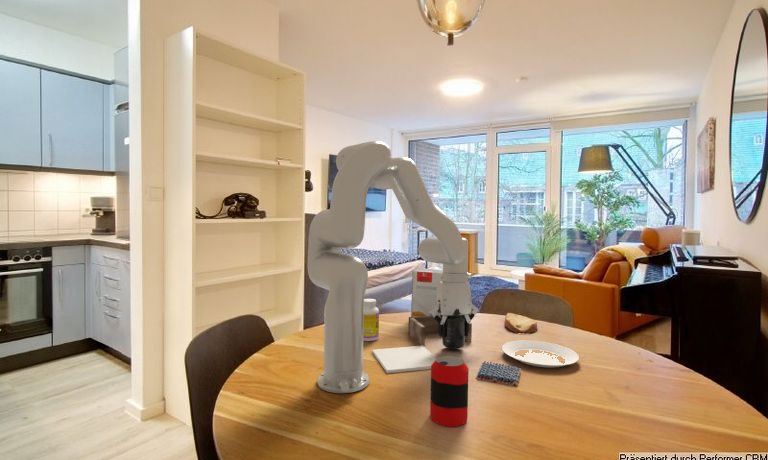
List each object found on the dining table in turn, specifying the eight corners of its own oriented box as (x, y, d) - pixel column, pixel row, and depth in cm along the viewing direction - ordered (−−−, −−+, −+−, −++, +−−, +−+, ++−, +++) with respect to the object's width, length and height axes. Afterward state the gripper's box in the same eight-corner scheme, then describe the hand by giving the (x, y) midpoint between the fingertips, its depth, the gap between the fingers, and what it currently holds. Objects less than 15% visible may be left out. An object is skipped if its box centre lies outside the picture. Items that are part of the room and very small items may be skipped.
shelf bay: (471, 341, 133) (471, 323, 132) (421, 345, 128) (421, 327, 128) (455, 330, 144) (455, 314, 144) (408, 334, 140) (408, 317, 139)
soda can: (422, 417, 84) (423, 360, 83) (444, 405, 89) (446, 351, 89) (452, 432, 78) (454, 371, 78) (474, 418, 84) (476, 361, 83)
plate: (503, 368, 111) (503, 360, 111) (500, 344, 131) (500, 337, 131) (586, 377, 106) (587, 368, 106) (570, 350, 126) (570, 343, 126)
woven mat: (521, 373, 109) (522, 365, 109) (518, 388, 99) (518, 380, 99) (482, 366, 113) (482, 359, 113) (474, 381, 103) (475, 373, 103)
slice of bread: (512, 317, 165) (512, 308, 165) (553, 328, 151) (553, 318, 150) (482, 324, 155) (482, 314, 155) (523, 336, 140) (523, 325, 140)
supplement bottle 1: (378, 342, 131) (378, 302, 131) (357, 341, 131) (358, 302, 131) (379, 335, 138) (379, 298, 137) (359, 335, 138) (359, 297, 137)
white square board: (443, 367, 111) (443, 364, 111) (387, 373, 106) (387, 370, 106) (422, 348, 126) (422, 345, 126) (372, 352, 122) (372, 349, 122)
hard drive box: (410, 323, 153) (411, 270, 152) (414, 318, 161) (415, 268, 160) (451, 327, 149) (452, 273, 148) (454, 321, 156) (455, 270, 155)
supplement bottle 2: (449, 340, 130) (450, 303, 129) (468, 345, 126) (469, 306, 125) (437, 345, 125) (438, 306, 124) (457, 350, 120) (458, 310, 120)
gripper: (474, 275, 130) (473, 330, 131) (423, 276, 125) (422, 333, 126) (486, 279, 123) (485, 337, 124) (433, 280, 118) (431, 341, 119)
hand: (453, 335), depth 125 cm, fingers closed on supplement bottle 2, 6 cm apart
